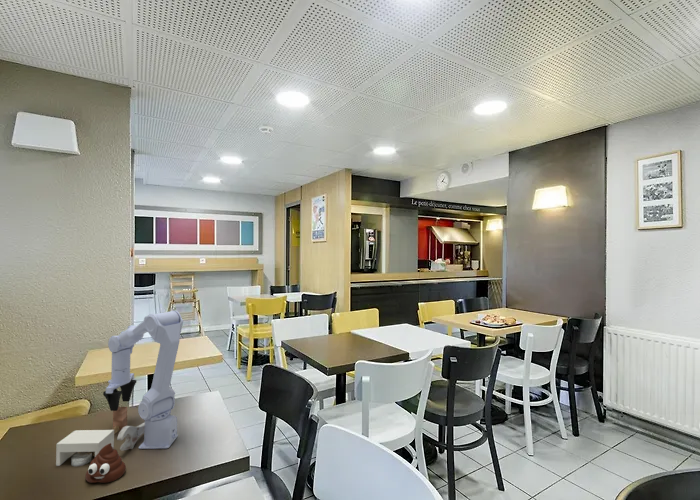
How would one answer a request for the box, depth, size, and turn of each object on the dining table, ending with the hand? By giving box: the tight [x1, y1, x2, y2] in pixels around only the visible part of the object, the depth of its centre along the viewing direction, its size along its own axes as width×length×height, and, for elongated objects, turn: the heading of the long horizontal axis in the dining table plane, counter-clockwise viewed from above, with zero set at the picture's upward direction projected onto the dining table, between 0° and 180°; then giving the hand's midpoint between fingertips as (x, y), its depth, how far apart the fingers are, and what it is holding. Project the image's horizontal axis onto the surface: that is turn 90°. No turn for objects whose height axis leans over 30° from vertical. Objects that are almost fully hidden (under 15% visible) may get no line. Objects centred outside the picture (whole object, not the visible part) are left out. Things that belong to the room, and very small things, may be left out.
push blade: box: [77, 406, 128, 457], centre depth 123 cm, size 6×19×7 cm, turn 4°
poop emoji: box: [84, 443, 127, 484], centre depth 103 cm, size 10×8×9 cm
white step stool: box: [55, 429, 115, 467], centre depth 112 cm, size 12×8×6 cm, turn 94°
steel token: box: [70, 452, 93, 467], centre depth 110 cm, size 5×5×2 cm
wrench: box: [116, 421, 145, 451], centre depth 127 cm, size 8×2×30 cm
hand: (120, 405), depth 131 cm, fingers open, 7 cm apart
